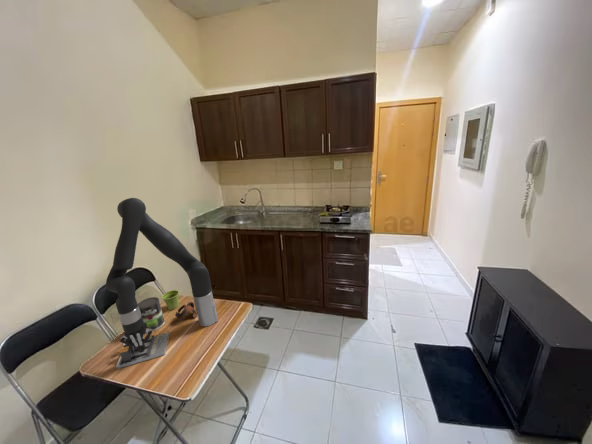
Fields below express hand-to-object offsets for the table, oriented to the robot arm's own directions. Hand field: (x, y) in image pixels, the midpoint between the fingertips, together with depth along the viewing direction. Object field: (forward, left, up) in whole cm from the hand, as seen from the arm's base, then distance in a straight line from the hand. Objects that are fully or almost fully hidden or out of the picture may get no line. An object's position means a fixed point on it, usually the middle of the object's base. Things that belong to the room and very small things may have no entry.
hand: (142, 351), depth 110 cm
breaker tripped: (+6, 0, -2) cm, 6 cm away
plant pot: (-8, -38, -4) cm, 39 cm away
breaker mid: (+6, -4, -2) cm, 8 cm away
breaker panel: (+1, -4, -3) cm, 6 cm away
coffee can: (0, -24, -4) cm, 24 cm away
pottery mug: (-17, -24, -4) cm, 29 cm away
